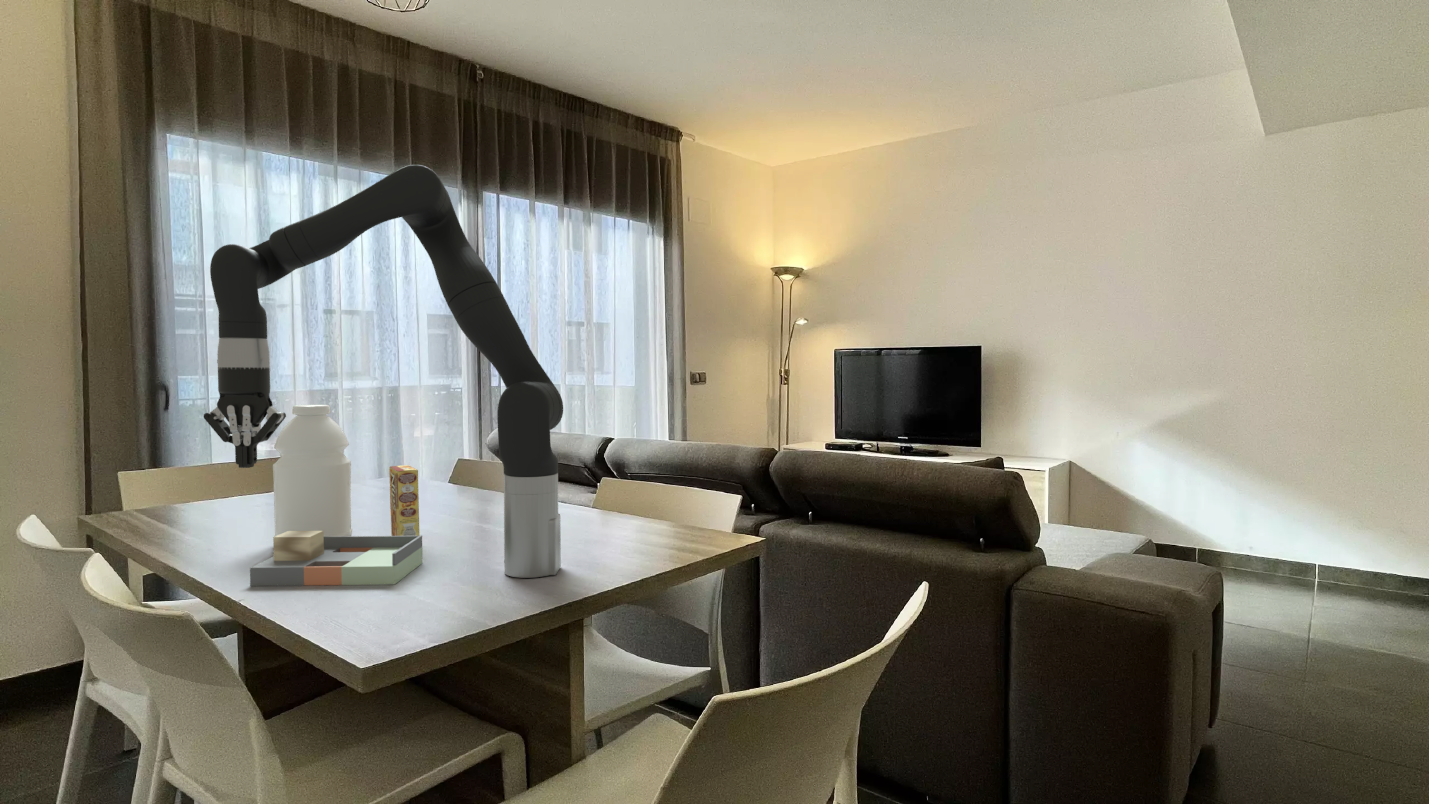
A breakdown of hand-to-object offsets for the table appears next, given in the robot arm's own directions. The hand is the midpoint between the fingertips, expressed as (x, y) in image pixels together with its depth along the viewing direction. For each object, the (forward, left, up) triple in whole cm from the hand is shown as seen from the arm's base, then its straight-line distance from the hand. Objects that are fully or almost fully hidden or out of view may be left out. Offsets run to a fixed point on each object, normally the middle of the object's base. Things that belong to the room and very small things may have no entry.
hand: (246, 467), depth 130 cm
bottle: (0, -24, -19) cm, 30 cm away
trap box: (-16, 0, -18) cm, 24 cm away
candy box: (-18, -24, -19) cm, 35 cm away
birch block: (-9, 0, -16) cm, 18 cm away
